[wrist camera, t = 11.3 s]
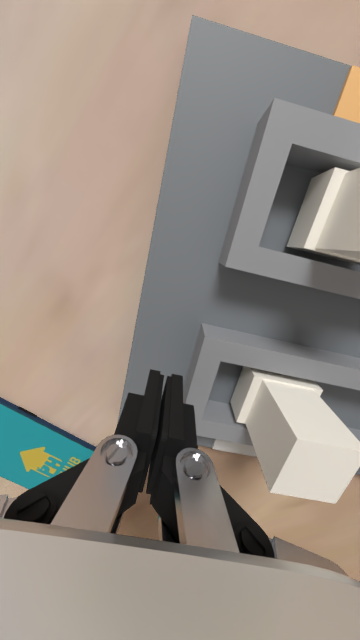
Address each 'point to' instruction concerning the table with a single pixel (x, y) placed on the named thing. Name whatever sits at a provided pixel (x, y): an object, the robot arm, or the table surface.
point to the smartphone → (35, 447)
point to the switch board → (249, 232)
